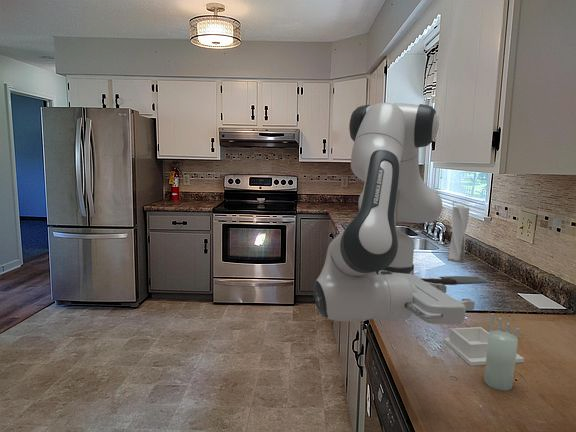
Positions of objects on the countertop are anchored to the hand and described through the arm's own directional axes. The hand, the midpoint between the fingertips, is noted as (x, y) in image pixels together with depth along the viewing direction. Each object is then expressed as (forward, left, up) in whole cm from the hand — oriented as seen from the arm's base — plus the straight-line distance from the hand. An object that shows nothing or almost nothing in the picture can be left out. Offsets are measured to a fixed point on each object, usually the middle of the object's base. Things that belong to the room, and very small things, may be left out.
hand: (457, 296), depth 80 cm
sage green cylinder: (+7, +9, -20) cm, 24 cm away
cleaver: (-26, +74, -21) cm, 81 cm away
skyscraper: (-35, +110, -21) cm, 117 cm away
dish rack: (+1, +22, -20) cm, 30 cm away
